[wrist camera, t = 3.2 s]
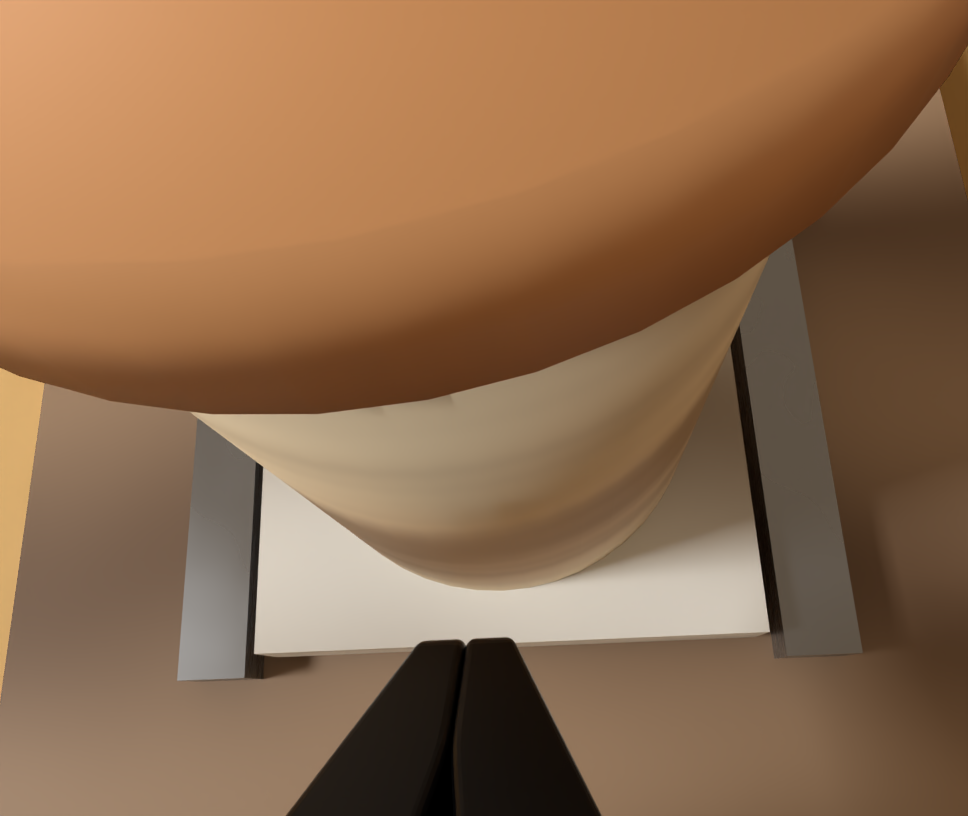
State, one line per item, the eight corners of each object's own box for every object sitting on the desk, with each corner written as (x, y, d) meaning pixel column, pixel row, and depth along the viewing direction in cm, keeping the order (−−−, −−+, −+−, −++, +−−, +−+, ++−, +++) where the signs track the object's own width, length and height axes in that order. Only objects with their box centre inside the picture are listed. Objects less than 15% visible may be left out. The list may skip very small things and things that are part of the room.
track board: (1079, 880, 12) (1144, 903, 11) (32, 899, 14) (-31, 922, 12) (829, -204, 20) (848, -273, 18) (154, -122, 21) (123, -181, 20)
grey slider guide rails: (932, 652, 12) (1038, 638, 9) (125, 684, 13) (2, 680, 10) (767, -187, 18) (803, -356, 15) (201, -119, 19) (134, -265, 16)
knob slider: (754, 636, 12) (1852, 258, 2) (277, 657, 13) (-1082, 467, 2) (697, 210, 15) (1022, -1082, 4) (294, 243, 15) (-353, -804, 5)
